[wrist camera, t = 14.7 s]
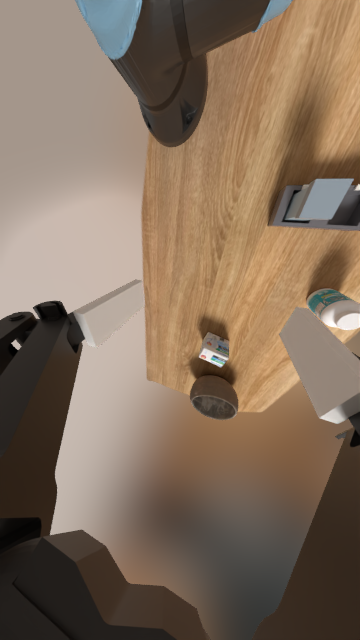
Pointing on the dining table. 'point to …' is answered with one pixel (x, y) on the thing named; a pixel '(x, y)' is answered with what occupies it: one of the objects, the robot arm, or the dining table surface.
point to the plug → (317, 200)
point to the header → (351, 215)
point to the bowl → (214, 397)
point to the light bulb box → (214, 349)
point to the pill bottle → (335, 309)
